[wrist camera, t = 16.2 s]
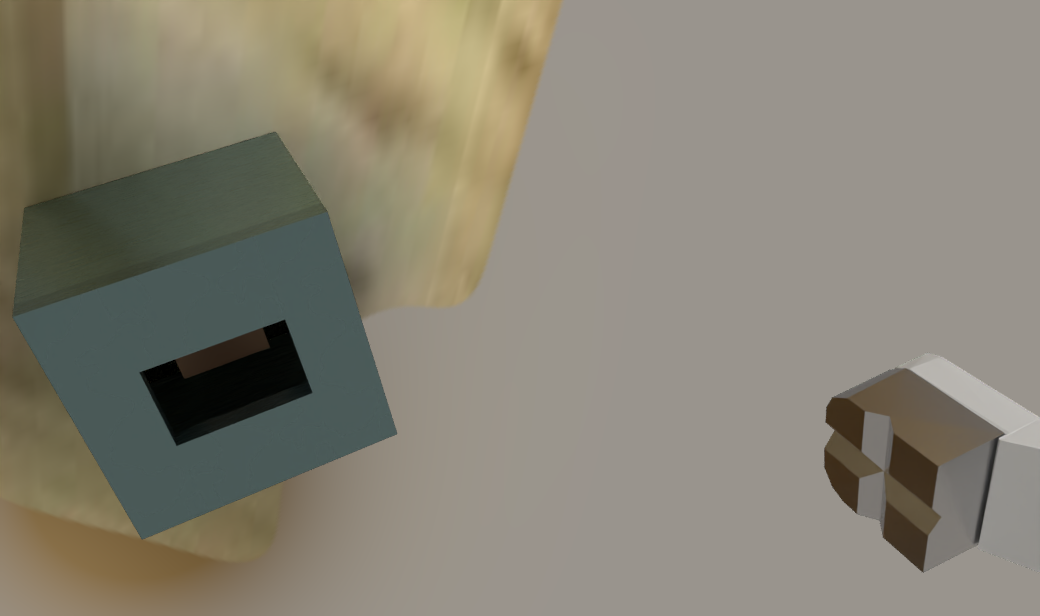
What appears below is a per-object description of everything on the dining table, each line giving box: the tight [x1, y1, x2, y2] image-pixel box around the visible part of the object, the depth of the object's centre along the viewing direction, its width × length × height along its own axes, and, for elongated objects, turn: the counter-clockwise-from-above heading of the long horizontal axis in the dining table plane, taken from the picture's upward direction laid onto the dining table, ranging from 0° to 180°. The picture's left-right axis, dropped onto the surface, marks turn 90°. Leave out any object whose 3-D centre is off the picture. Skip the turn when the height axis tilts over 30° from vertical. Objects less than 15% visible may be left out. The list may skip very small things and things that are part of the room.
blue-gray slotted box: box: [13, 132, 397, 539], centre depth 41 cm, size 12×12×11 cm
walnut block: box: [175, 328, 270, 379], centre depth 43 cm, size 4×2×8 cm, turn 100°
